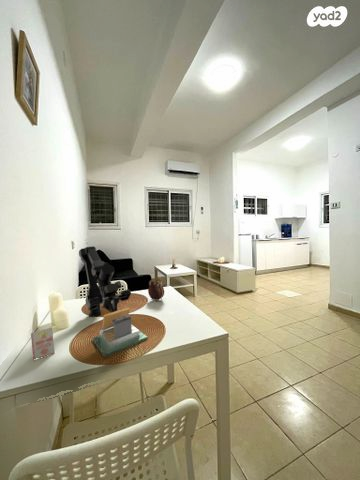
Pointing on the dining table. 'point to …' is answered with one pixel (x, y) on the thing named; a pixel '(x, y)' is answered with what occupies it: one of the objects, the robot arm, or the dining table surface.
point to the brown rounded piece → (156, 289)
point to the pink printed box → (42, 343)
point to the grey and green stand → (118, 336)
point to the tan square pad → (113, 317)
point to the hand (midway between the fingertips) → (115, 315)
